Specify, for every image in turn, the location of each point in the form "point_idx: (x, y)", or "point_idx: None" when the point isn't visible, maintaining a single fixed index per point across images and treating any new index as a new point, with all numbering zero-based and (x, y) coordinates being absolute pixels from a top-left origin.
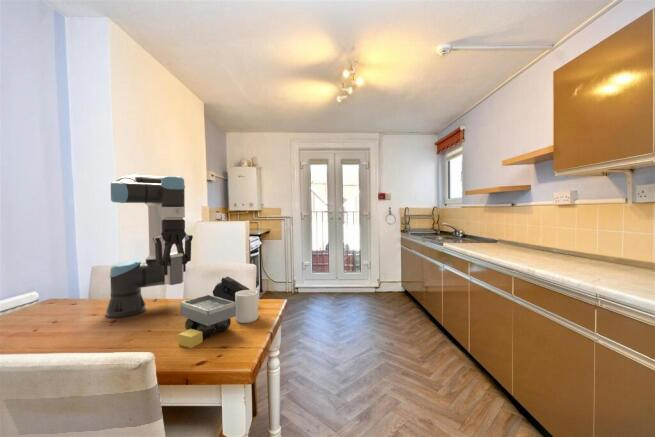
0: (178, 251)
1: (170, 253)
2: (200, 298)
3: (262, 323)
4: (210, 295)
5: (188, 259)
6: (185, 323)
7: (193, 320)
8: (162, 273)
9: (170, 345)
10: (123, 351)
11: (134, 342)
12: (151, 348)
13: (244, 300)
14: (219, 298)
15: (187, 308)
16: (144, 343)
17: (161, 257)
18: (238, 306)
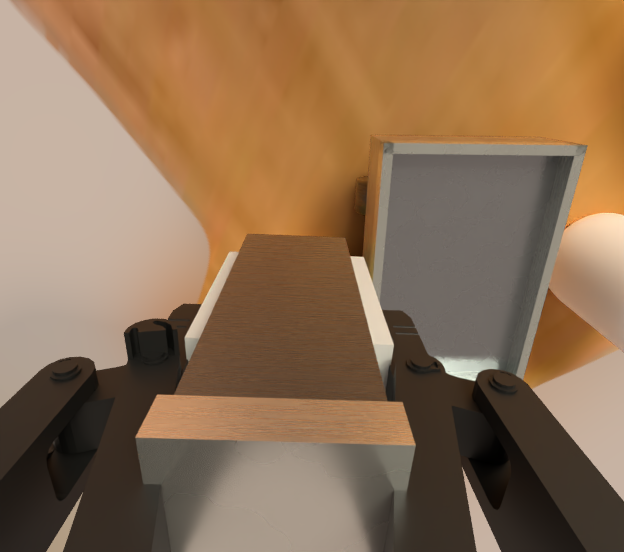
0: (389, 549)
1: (231, 496)
2: (513, 153)
3: (571, 337)
4: (574, 176)
5: (473, 462)
6: (359, 183)
7: (363, 251)
8: (172, 318)
9: (263, 228)
10: (126, 129)
11: (180, 72)
12: (208, 194)
13: (611, 339)
14: (541, 277)
15: (373, 214)
16: (205, 123)
17: (41, 533)
18: (585, 293)
